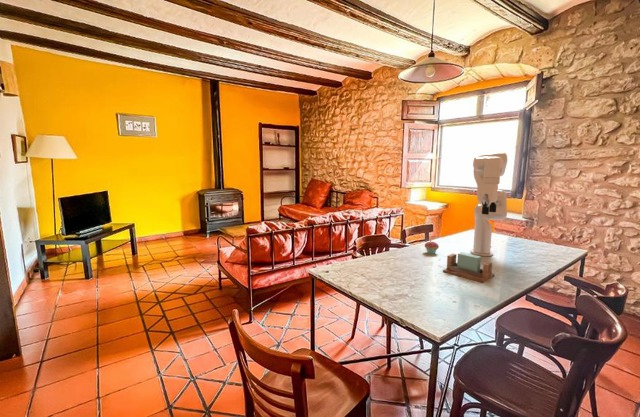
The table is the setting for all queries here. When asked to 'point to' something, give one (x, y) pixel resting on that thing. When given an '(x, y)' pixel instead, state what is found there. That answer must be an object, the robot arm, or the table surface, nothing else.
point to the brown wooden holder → (480, 277)
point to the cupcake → (431, 247)
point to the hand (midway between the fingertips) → (488, 213)
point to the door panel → (469, 262)
